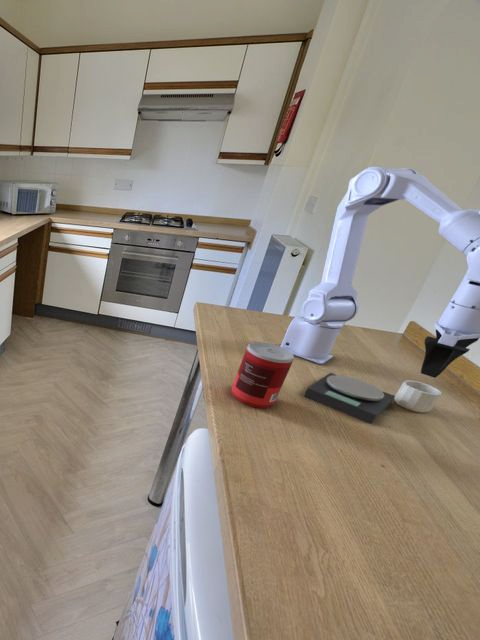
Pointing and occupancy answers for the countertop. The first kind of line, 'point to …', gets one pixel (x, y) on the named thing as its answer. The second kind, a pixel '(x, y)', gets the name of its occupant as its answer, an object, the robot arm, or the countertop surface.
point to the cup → (417, 396)
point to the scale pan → (355, 388)
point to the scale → (347, 401)
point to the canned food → (261, 374)
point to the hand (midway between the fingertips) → (432, 370)
